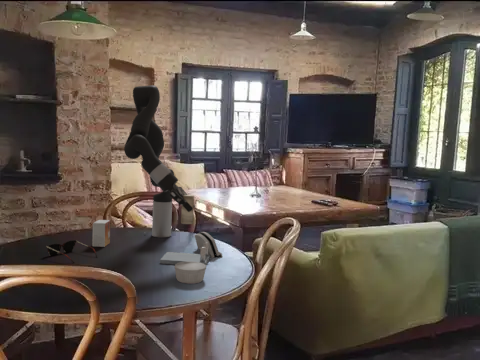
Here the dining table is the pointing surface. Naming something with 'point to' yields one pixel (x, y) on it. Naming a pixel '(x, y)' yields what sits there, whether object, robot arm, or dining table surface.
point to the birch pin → (185, 215)
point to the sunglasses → (64, 248)
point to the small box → (101, 233)
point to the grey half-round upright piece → (206, 237)
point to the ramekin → (190, 272)
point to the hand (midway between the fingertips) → (192, 209)
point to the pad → (187, 256)
